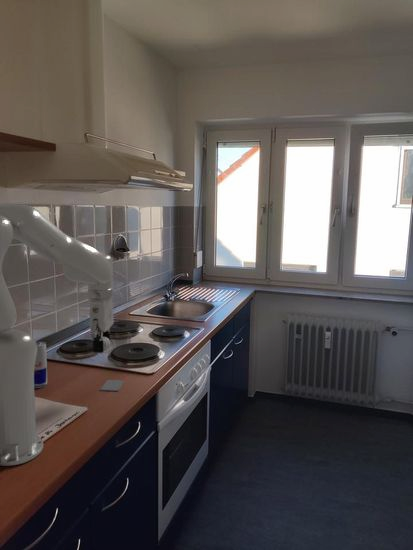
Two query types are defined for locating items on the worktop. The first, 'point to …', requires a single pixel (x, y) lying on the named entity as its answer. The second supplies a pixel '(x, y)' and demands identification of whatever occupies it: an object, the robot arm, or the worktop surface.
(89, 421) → the worktop surface
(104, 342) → the garlic
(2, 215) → the robot arm
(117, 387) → the coaster
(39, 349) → the white bottle
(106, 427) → the worktop surface
